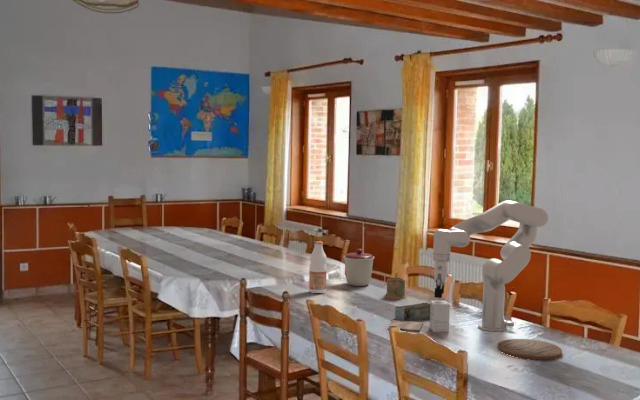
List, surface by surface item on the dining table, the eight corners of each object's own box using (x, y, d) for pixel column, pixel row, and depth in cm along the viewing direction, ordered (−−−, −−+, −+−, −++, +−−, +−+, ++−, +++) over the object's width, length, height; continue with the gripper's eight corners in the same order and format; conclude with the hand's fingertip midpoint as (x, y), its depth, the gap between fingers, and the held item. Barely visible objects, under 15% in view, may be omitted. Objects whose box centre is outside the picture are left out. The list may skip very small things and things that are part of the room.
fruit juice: (305, 292, 393) (306, 241, 391) (317, 289, 400) (318, 240, 398) (317, 294, 387) (318, 243, 384) (329, 292, 393) (330, 242, 391)
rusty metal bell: (405, 292, 398) (406, 271, 397) (406, 299, 380) (407, 277, 379) (385, 291, 399) (385, 270, 398) (384, 298, 382) (385, 276, 381)
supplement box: (445, 327, 324) (446, 300, 323) (449, 332, 316) (450, 304, 315) (429, 327, 323) (430, 300, 322) (432, 332, 316) (433, 303, 315)
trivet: (573, 353, 290) (573, 348, 290) (542, 365, 273) (542, 360, 273) (517, 339, 308) (518, 335, 308) (485, 350, 290) (485, 346, 290)
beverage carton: (393, 318, 339) (394, 305, 339) (425, 314, 349) (426, 301, 348) (404, 322, 332) (404, 308, 332) (436, 318, 342) (436, 304, 342)
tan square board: (422, 324, 329) (422, 322, 328) (419, 332, 315) (419, 330, 315) (392, 322, 332) (392, 319, 332) (387, 329, 318) (387, 327, 318)
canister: (336, 283, 418) (337, 248, 416) (358, 280, 430) (359, 245, 428) (358, 289, 404) (359, 252, 403) (380, 285, 416) (381, 249, 415)
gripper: (448, 260, 308) (446, 300, 309) (451, 255, 325) (449, 292, 326) (430, 259, 310) (428, 298, 311) (434, 253, 326) (432, 291, 328)
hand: (439, 295), depth 318 cm, fingers open, 9 cm apart
